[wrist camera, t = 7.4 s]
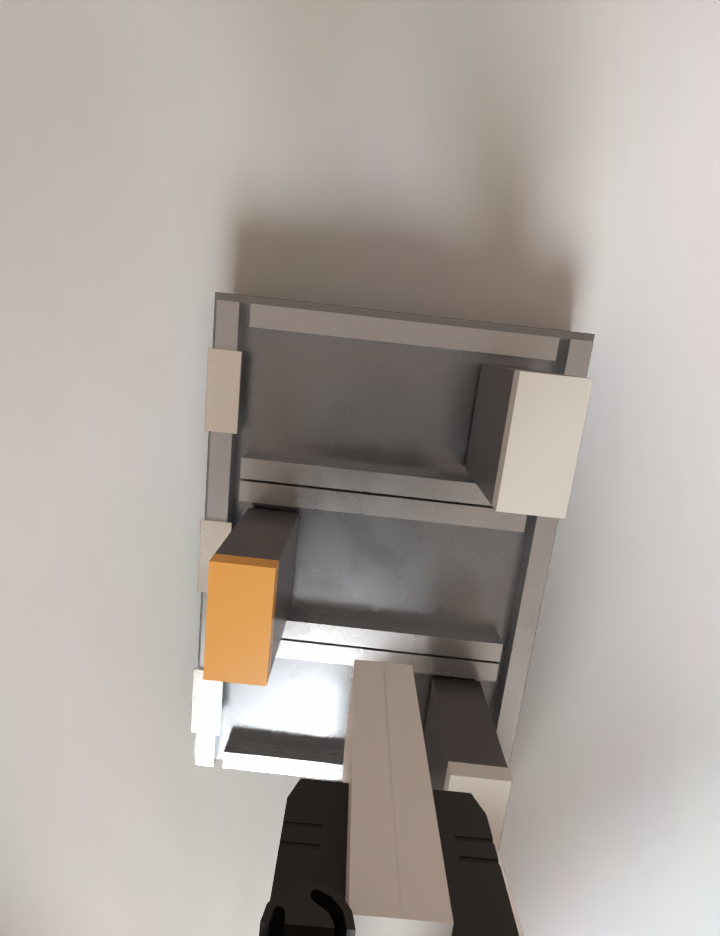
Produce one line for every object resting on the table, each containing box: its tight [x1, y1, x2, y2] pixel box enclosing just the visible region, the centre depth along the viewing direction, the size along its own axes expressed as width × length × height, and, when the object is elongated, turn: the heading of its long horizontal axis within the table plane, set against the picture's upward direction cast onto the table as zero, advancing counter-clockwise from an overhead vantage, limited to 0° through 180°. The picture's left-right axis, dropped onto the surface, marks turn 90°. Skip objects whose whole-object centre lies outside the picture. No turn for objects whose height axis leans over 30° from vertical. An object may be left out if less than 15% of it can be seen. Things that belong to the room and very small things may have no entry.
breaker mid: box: [203, 508, 299, 686], centre depth 19 cm, size 2×4×5 cm, turn 174°
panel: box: [191, 292, 595, 781], centre depth 23 cm, size 14×20×3 cm
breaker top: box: [465, 364, 593, 519], centre depth 18 cm, size 2×4×5 cm, turn 174°
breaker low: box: [424, 676, 512, 854], centre depth 21 cm, size 2×4×5 cm, turn 174°
